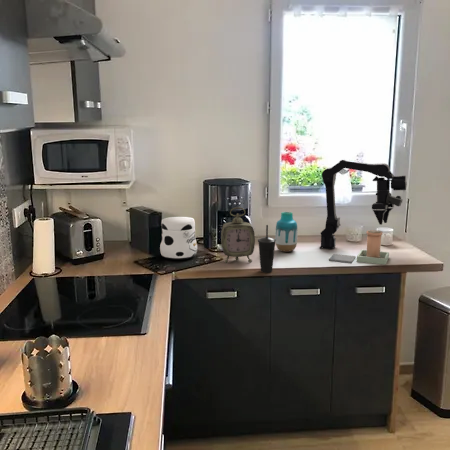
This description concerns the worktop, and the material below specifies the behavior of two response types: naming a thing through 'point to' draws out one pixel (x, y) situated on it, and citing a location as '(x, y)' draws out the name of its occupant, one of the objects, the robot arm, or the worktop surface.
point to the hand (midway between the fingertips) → (383, 223)
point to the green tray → (373, 258)
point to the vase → (286, 232)
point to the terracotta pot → (373, 243)
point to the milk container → (178, 238)
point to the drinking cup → (266, 252)
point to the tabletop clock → (237, 238)
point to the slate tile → (342, 258)
